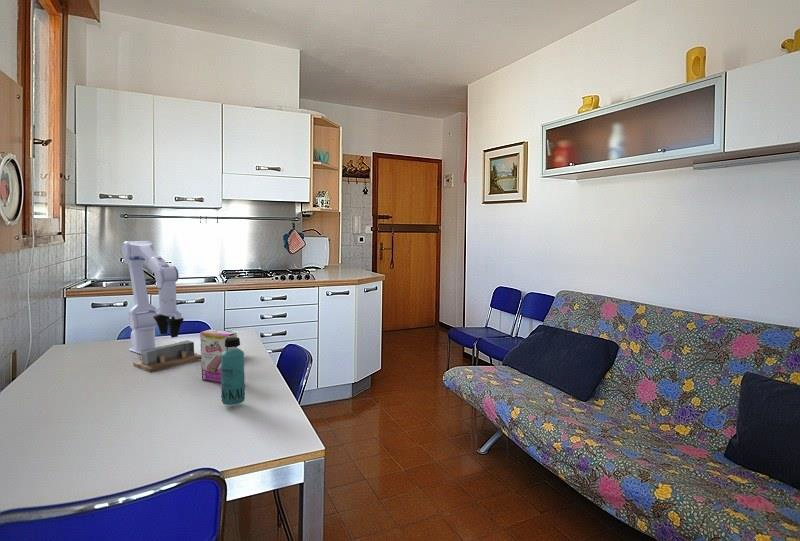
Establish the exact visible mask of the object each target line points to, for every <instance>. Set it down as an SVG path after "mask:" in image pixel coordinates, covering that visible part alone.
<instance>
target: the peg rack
mask: <svg viewBox="0 0 800 541" xmlns="http://www.w3.org/2000/svg"><path fill="white" fill-rule="evenodd" d="M199 359H201V354H199V353H196V352H194V355H191V356H187V357H186V351H182V352H181V358H177V359H172V360H168V361H165V356H160V363H157V364H154V365H150V366H147V365H144V364H142V359H141V360H138V361H134V362H132V363H133V367H135V368H139V369H141V370H144V371H146V372H147V373H152V372H156V371H160V370H164V369H169V368H173V367H176V365H177V366H180V364H181V365H184V363H185V364H187V363H188V362H189V363H192V362H191V361H193V362H196V361H195V360H197V361H199ZM172 366H173V367H172Z"/></svg>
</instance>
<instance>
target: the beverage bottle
mask: <svg viewBox="0 0 800 541" xmlns="http://www.w3.org/2000/svg"><path fill="white" fill-rule="evenodd" d="M239 346H241V341H240V337H238V336H237V337H230V338H226V339H225V347H237V348H229V349H226V350H224V351H223V352H222V353H221V383H220V384H221V387H220V388H221V394H220V395H221V396H220V398H221V400H220V401H221V403H222V404H223V405H226V406H235V405H239V404H242V403H243V402H244V401H245V399H246V398H245V397H246V388H245V387H246V385H245V352H244V351H243V350H242V349H241V348H238V347H239Z"/></svg>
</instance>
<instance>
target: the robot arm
mask: <svg viewBox="0 0 800 541" xmlns="http://www.w3.org/2000/svg"><path fill="white" fill-rule="evenodd" d="M121 254H122V260H123V262H124V264H126V265H127V266H128V270H129V277H130V283H131V288H132V294H133V301H134V306H133V307H131V309H130V310H128V312H127V313H128V314H127V315H128V318H127V319H128V320H127V321H128V326H129V328H130V329H131V333H130V346H131V347H130V348H128V350H129V351H130V352H133V353H136V354H139V355H141V350H144V349H148V348H156V347H157V346H156V331H155V329H157V327H158V330H159V333H160V335H166V334H168V328H169V335H170V338H171V339H173V338H178V336H179V333H180V332H179V331H180V328H181V326H182V323H183V322H184V318H183V317H182V313H180V312H179V311H178V310H177V287H176V286H177V285H176V284H177V283H176V282H178V280H179V276H180V275H179V270H178V268H177V267H176V266H175V265H169V264H168V263H167V261H166V260H165V259H164V258H163V257H162V256H159V255H157V254H156V253H155V252H154V244H153V242H152V241H151V240H140V241H139V240H137V241H136V240H135V241H128V240H127V241H123V243H122V246H121ZM144 264H147V267H148V268H149V269H150V270H151V272H152V273H153V274H154V278H155V282H156V287H157V288H158V306H159V308H157V307H156V306H154V305H153V304H151V303H150V301H149V295H148V289H147V283H146V278H145V272H144Z"/></svg>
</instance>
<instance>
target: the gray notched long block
mask: <svg viewBox="0 0 800 541" xmlns="http://www.w3.org/2000/svg"><path fill="white" fill-rule="evenodd" d="M194 343H195V342H194V341H191V340H188V339H187V340H182V341H178V342H175V343H171V344H165V345H160V346H155V347H156V348H148V349H144V350H141V354H140V355H141V360H142V364H144V365H147V366H150V365H154V364H157V363H160V356H165V361H168V360H172V359H177V358H181V352H182V351H186V357H187V356H191V355H194V353H195V344H194Z"/></svg>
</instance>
